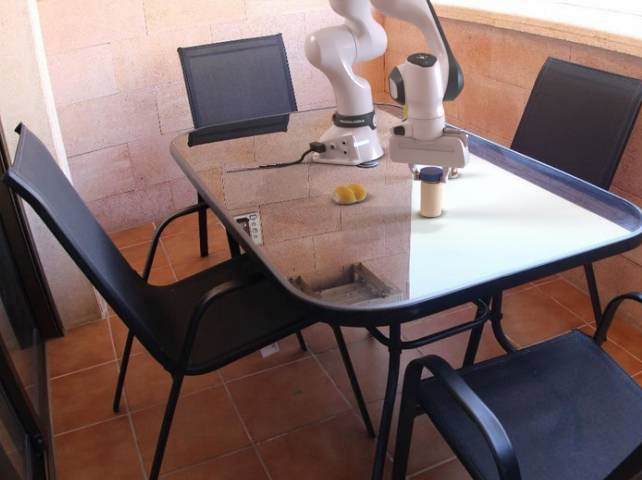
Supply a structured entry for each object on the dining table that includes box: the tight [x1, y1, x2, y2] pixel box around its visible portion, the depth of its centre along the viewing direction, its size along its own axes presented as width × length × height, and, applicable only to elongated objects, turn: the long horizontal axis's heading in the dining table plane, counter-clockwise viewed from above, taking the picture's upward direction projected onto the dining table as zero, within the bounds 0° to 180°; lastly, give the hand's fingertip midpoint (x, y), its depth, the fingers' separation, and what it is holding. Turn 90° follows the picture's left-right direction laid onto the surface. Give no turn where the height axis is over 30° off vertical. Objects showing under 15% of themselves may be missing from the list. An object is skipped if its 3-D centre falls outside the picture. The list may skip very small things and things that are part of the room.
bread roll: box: [332, 183, 367, 205], centre depth 181 cm, size 8×9×4 cm
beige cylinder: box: [419, 180, 443, 218], centre depth 168 cm, size 5×5×11 cm
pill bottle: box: [441, 167, 459, 179], centre depth 191 cm, size 4×4×8 cm
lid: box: [419, 166, 444, 182], centre depth 165 cm, size 6×6×2 cm
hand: (430, 181), depth 166 cm, fingers closed on lid, 6 cm apart
